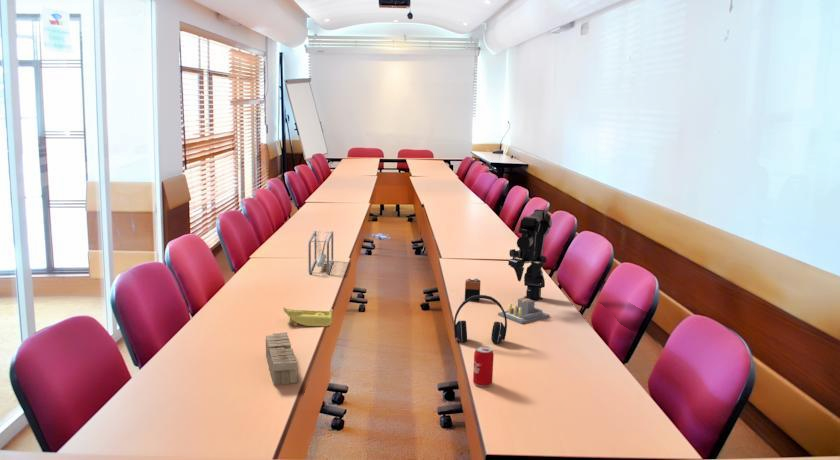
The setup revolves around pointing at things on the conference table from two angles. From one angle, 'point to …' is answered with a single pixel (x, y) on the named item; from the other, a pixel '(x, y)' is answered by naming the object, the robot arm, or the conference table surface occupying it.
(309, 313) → the plastic component
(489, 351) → the beverage can
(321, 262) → the newton's cradle
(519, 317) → the header socket
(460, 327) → the headphones
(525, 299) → the plug
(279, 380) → the block tower
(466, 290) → the battery
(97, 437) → the conference table surface
